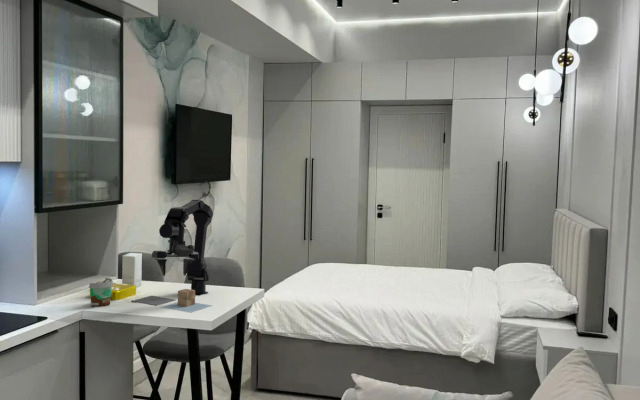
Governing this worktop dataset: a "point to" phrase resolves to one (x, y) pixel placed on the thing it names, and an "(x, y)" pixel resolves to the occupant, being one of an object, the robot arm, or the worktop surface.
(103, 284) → the food container
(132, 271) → the skincare box
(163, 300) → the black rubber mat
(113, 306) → the worktop surface
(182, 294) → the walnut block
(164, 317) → the worktop surface
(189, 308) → the card
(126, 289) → the element tile
